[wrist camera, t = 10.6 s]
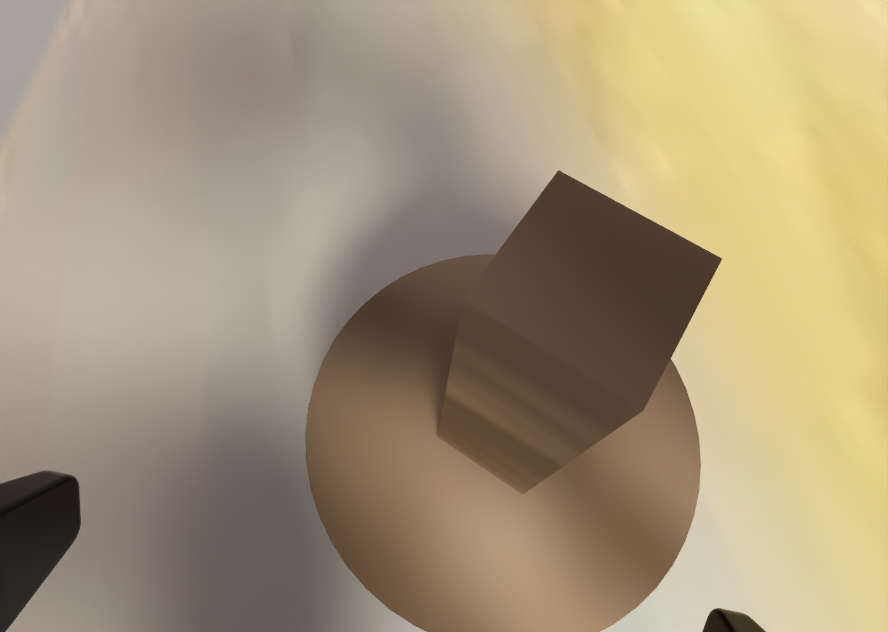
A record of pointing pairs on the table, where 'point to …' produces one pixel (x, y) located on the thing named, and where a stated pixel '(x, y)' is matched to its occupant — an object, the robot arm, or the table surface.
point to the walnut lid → (517, 425)
